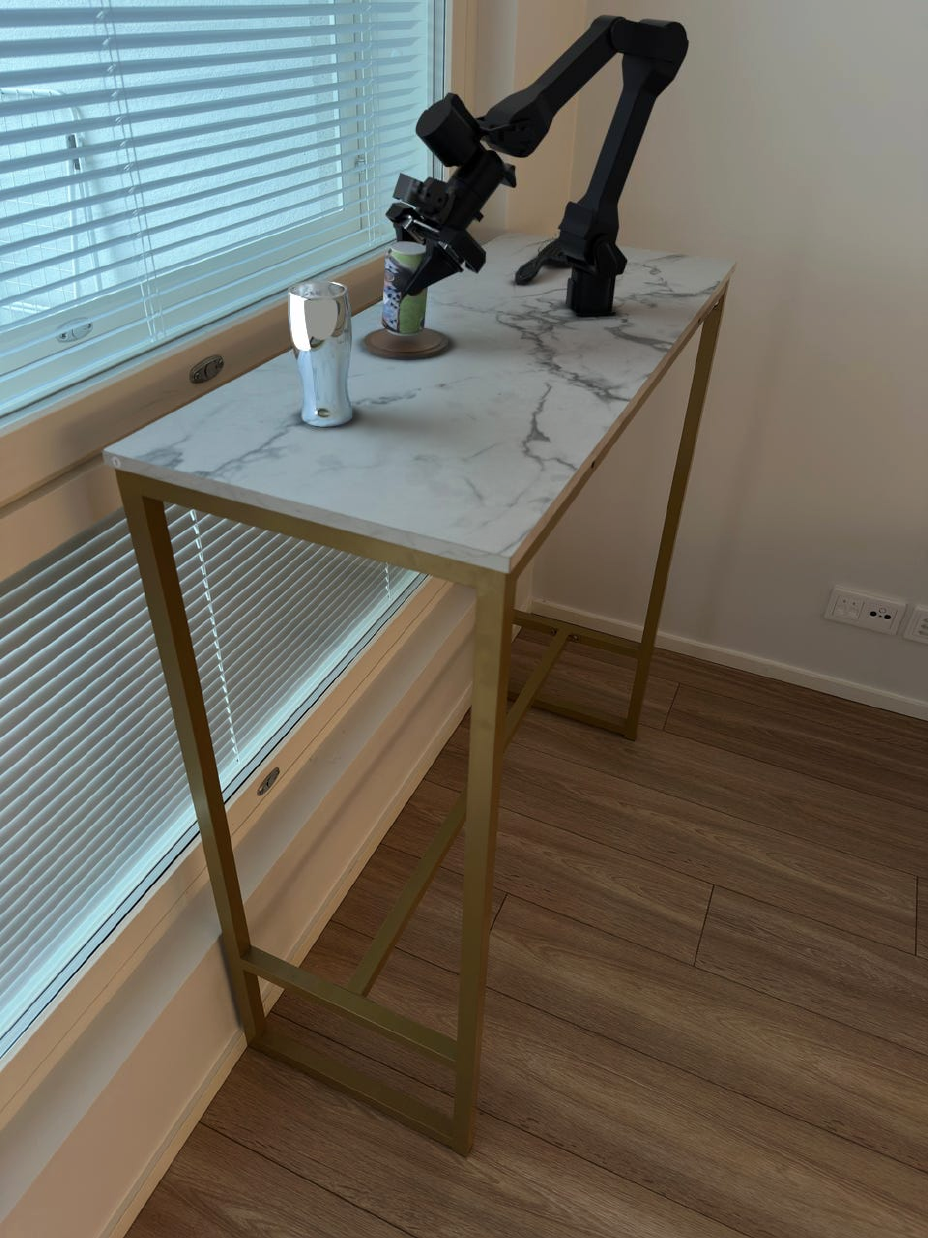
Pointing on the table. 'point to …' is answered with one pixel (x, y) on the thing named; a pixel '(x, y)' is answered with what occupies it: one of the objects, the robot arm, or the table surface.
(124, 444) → the table surface
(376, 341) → the coaster
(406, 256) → the beverage can
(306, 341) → the beer glass
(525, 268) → the hairbrush
